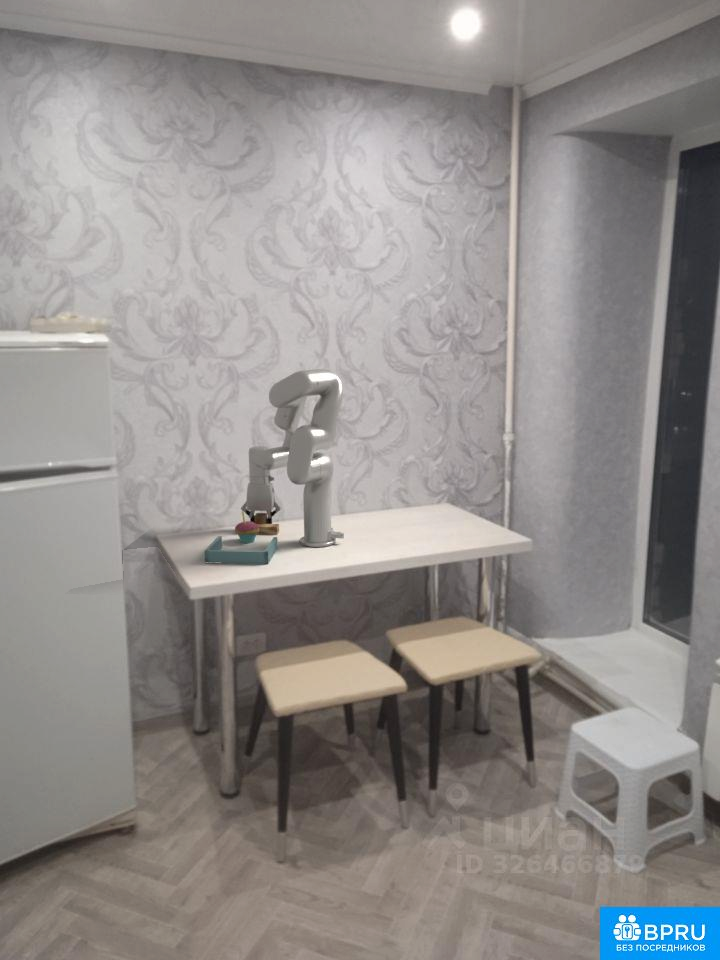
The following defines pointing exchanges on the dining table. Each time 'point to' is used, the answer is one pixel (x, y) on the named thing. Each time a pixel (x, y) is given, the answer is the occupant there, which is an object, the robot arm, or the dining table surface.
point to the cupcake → (247, 530)
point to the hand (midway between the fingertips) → (261, 527)
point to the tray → (239, 554)
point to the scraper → (265, 525)
